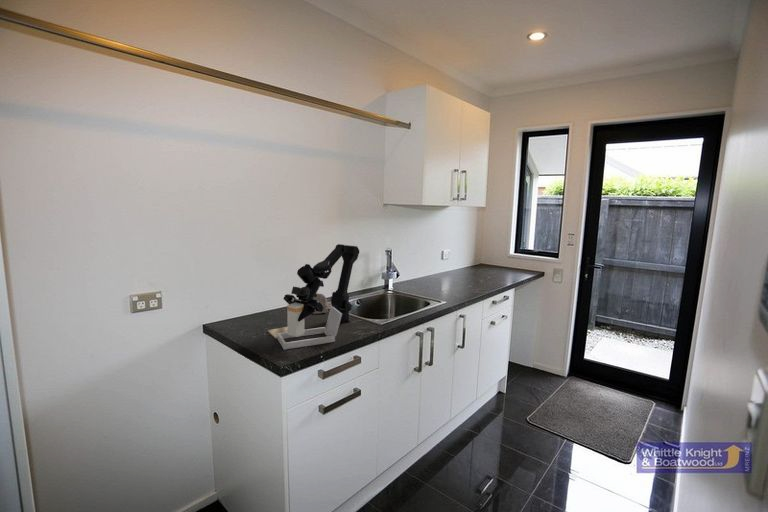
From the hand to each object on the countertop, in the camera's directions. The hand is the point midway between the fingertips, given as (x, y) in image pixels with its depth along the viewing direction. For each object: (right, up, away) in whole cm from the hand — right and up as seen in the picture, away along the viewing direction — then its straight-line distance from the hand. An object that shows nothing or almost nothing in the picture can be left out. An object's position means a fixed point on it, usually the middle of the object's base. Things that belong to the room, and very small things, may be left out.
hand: (293, 319), depth 156 cm
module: (+1, -6, +2) cm, 7 cm away
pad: (-8, -8, +13) cm, 18 cm away
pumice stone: (+1, -4, +46) cm, 46 cm away
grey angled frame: (+6, -10, +6) cm, 13 cm away
